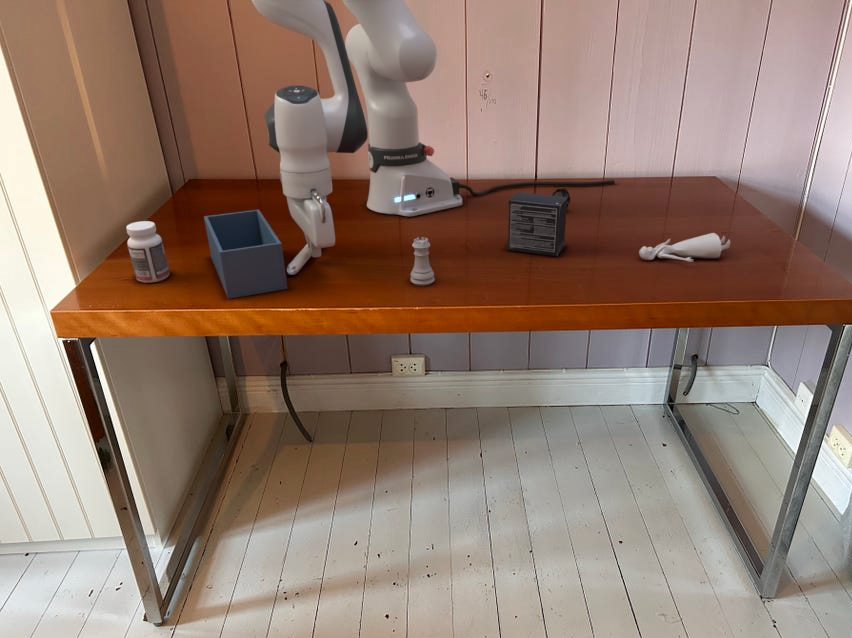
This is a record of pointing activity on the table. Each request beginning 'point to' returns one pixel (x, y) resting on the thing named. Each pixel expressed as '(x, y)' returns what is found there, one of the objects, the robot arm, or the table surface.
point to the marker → (299, 261)
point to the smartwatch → (562, 194)
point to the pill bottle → (147, 252)
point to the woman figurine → (688, 248)
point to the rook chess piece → (421, 263)
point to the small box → (537, 223)
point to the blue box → (245, 253)
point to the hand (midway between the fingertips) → (315, 254)
